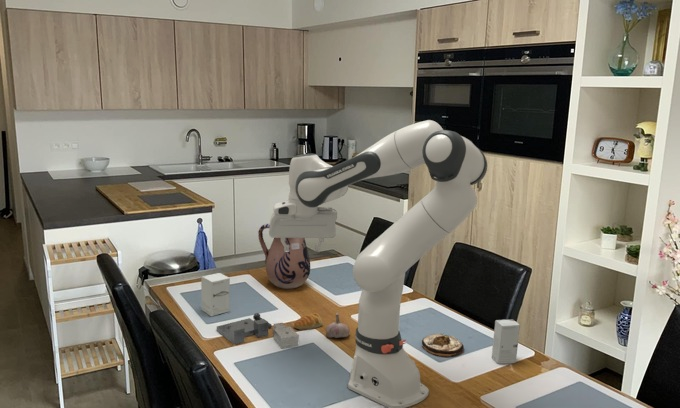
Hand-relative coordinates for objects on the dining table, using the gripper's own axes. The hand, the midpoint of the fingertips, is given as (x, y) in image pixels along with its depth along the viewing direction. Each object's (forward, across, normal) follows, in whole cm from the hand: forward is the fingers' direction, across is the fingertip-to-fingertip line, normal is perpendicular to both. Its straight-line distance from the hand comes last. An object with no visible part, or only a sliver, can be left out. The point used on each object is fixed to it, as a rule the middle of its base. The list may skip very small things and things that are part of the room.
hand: (301, 251), depth 167 cm
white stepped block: (+29, +5, +1) cm, 29 cm away
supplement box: (+29, +28, -23) cm, 47 cm away
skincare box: (+29, -60, +18) cm, 69 cm away
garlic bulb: (+29, -12, -1) cm, 32 cm away
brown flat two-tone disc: (+29, -44, +9) cm, 54 cm away
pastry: (+29, -4, -9) cm, 31 cm away
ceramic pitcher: (+30, +4, -48) cm, 57 cm away
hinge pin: (+29, +12, -11) cm, 33 cm away
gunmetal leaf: (+29, +19, -5) cm, 35 cm away
